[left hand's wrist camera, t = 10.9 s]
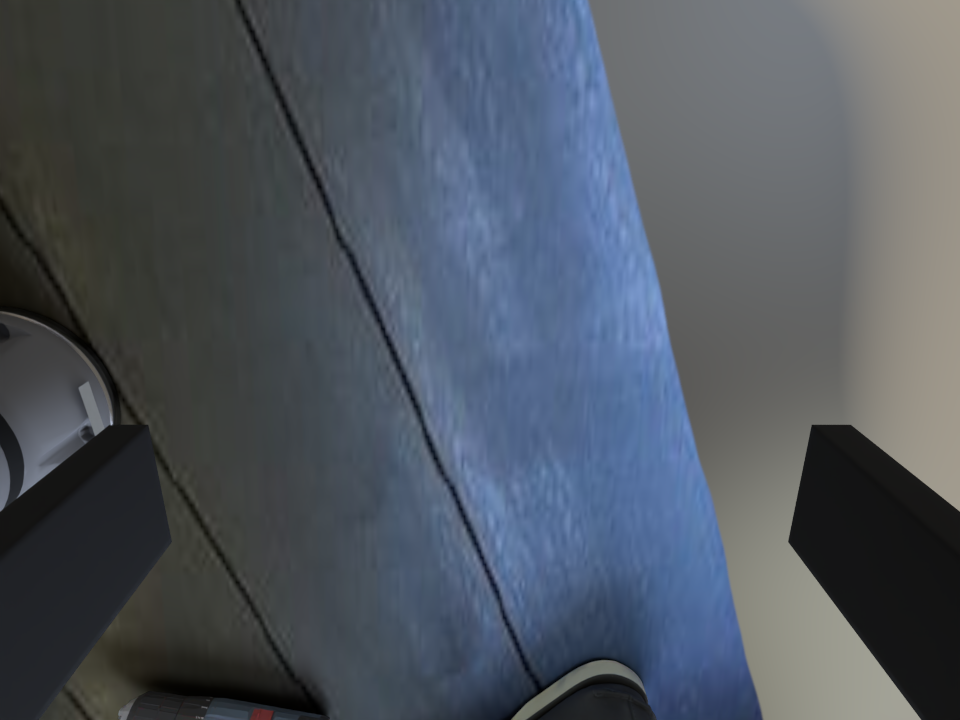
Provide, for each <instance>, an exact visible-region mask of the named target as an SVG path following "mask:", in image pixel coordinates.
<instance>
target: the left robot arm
mask: <svg viewBox="0 0 960 720" xmlns="http://www.w3.org/2000/svg"><path fill="white" fill-rule="evenodd" d="M171 542H172V541H171V536H170V531H169V526H168V521H167V516H166V511H165V506H164V501H163V496H162V491H161V486H160V481H159V476H158V471H157V466H156V462H155V457H154V452H153V447H152V442H151V437H150V432H149V427H148V425H120V405H119V400H118V396H117V392H116V389H115V387H114V384H113V382H112V379H111V377H110V376H109V374H108V372H107V370H106V368H105V367H104V365H103V364H102V362H101V361H100V360H99V358H98V357H97V356H96V355H95V353H94V352H93V351H92V350H91V349H90V348H89V347H88V346H87V345H86V344H85V343H84V342H83V341H82V340H81V339H79V338H78V337H77V336H76V335H75V334H73V333H72V332H70V331H69V330H68V329H66V328H65V327H63V326H61V325H60V324H58V323H56V322H54V321H52V320H50V319H48V318H46V317H44V316H41V315H39V314H36V313H33V312H30V311H26V310H22V309H17V308H12V307H0V720H39V718H40V717H41V716H42V714H43V713H44V712H45V710H46V709H47V708H48V706H49V705H50V704H51V702H52V701H53V700H54V698H55V697H56V696H57V694H58V693H59V692H60V690H61V689H62V688H63V686H64V685H65V684H66V682H67V681H68V680H69V678H70V677H71V676H72V674H73V673H74V672H75V670H76V669H77V668H78V666H79V665H80V664H81V662H82V661H83V660H84V658H85V657H86V656H87V654H88V653H89V652H90V650H91V649H92V648H93V646H94V645H95V644H96V642H97V641H98V640H99V638H100V637H101V636H102V634H103V633H104V632H105V630H106V629H107V628H108V626H109V625H110V624H111V622H112V621H113V620H114V618H115V617H116V616H117V614H118V613H119V612H120V610H121V609H122V608H123V606H124V605H125V604H126V602H127V601H128V600H129V598H130V597H131V596H132V594H133V593H134V592H135V590H136V589H137V588H138V586H139V585H140V584H141V582H142V581H143V580H144V578H145V577H146V576H147V574H148V573H149V572H150V570H151V569H152V568H153V566H154V565H155V564H156V562H157V561H158V560H159V558H160V557H161V556H162V554H163V553H164V552H165V550H166V549H167V547H168V546H169V545H170V543H171ZM788 542H789V543H790V545H791V546H792V547H793V549H794V550H795V552H796V553H797V554H798V556H799V557H800V558H801V559H802V561H803V562H804V564H805V565H806V566H807V568H808V569H809V570H810V571H811V573H812V574H813V576H814V577H815V578H816V579H817V581H818V582H819V584H820V585H821V586H822V588H823V589H824V590H825V592H826V593H827V594H828V596H829V597H830V598H831V600H832V601H833V602H834V604H835V605H836V606H837V608H838V609H839V610H840V612H841V613H842V614H843V616H844V617H845V618H846V620H847V621H848V622H849V624H850V625H851V626H852V628H853V629H854V630H855V632H856V633H857V634H858V636H859V637H860V638H861V640H862V641H863V642H864V644H865V645H866V646H867V648H868V649H869V650H870V652H871V653H872V654H873V656H874V657H875V658H876V660H877V661H878V662H879V664H880V665H881V666H882V668H883V669H884V670H885V672H886V673H887V674H888V676H889V677H890V678H891V680H892V681H893V682H894V684H895V685H896V686H897V688H898V689H899V690H900V692H901V693H902V694H903V696H904V697H905V698H906V700H907V701H908V702H909V704H910V705H911V706H912V708H913V709H914V710H915V712H916V713H917V714H918V716H919V717H920V718H921V720H960V512H959V511H958V510H957V509H956V508H954V507H953V506H952V505H951V504H949V503H948V502H947V501H946V500H944V499H943V498H942V497H941V496H939V495H938V494H937V493H936V492H934V491H933V490H932V489H931V488H929V487H928V486H927V485H926V484H924V483H923V482H922V481H921V480H919V479H918V478H917V477H916V476H914V475H913V474H912V473H910V472H909V471H908V470H907V469H905V468H904V467H903V466H902V465H900V464H899V463H898V462H897V461H895V460H894V459H893V458H892V457H890V456H889V455H888V454H887V453H885V452H884V451H883V450H882V449H880V448H879V447H878V446H876V445H875V444H874V443H873V442H872V441H870V440H869V439H868V438H866V437H865V436H864V435H863V434H861V433H860V432H859V431H858V430H856V429H855V428H854V427H853V426H851V425H812V427H811V432H810V437H809V442H808V447H807V452H806V457H805V462H804V466H803V471H802V476H801V481H800V486H799V491H798V496H797V501H796V506H795V511H794V516H793V521H792V526H791V531H790V536H789V541H788Z"/></svg>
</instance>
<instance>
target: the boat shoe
mask: <svg viewBox="0 0 960 720" xmlns="http://www.w3.org/2000/svg"><path fill="white" fill-rule="evenodd" d="M512 720H656V717H655V715H654V713H653V712H652V710H651V707H650V706H649V705H648V699H647V696H646V693H645V690H644V686H643V684H642V681H641V680H640V678H639V677H638V676H637V675H636V674H635V672H633V671H632V670H631V669H630V668H628V667H626V666H625V665H622V664H620V663H618V662H616V661H610V660H600V661H594V662H590V663H587V664H585V665H583V666H580V667H578V668H576V669H575V670H573V671H572V672H570V673H569V674H567V675H566V676H564V677H563V678H561V679H560V680H558V681H557V682H555V683H554V684H553V685H551V686H550V687H549V688H547V689H546V690H544V691H543V692H542V693H540V694H539V695H537V696H536V697H534V698H533V699H532V700H530V701H529V702H528V703H526V704H525V705H524V706H523V708H522V709H521V710H520V711H519V712H518V713H517V714H516V715H515V716H514V717H513V718H512Z"/></svg>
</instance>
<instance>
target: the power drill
mask: <svg viewBox="0 0 960 720" xmlns="http://www.w3.org/2000/svg"><path fill="white" fill-rule="evenodd" d="M118 715H120V717H119V719H120V720H330V718H329V717H327V716H325V715H319V714H312V713H306V712H301V711H295V710H290V709H284V708H279V707H273V706H267V705H262V704H256V703H250V702H245V701H239V700H234V699H228V698H213V697H206V696H182V695H177V694H171V693H163V692H155V691H148V692H146V693H144V694H142V695H140V696H139V697H137V698H135V699H132V700H130V701H129V702H128V704H127V705H124V708H121V709H120V711H119V714H118Z"/></svg>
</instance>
